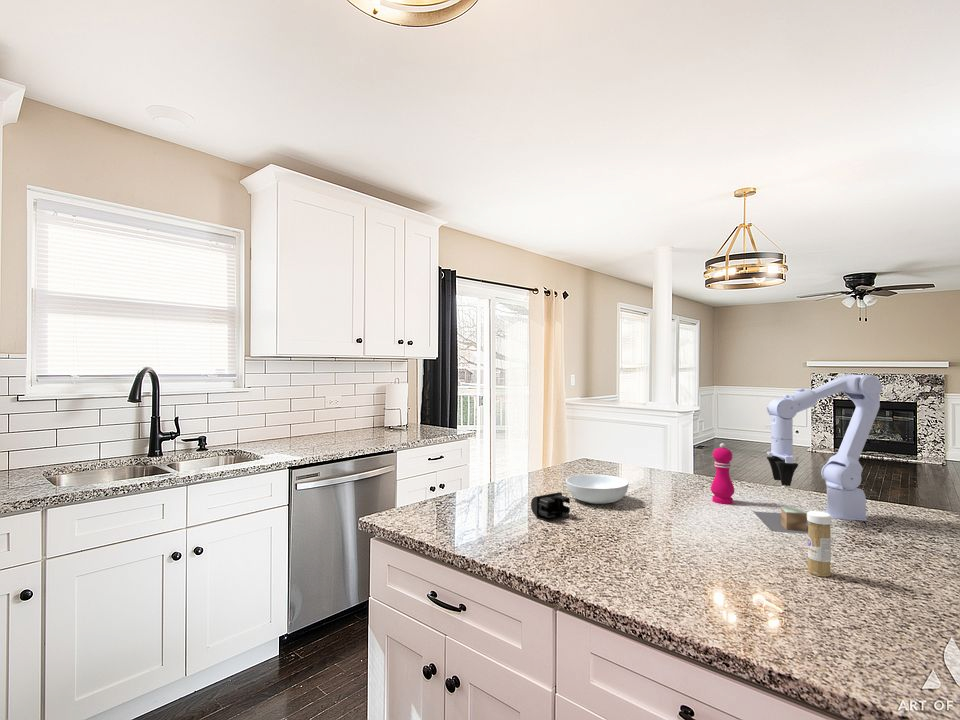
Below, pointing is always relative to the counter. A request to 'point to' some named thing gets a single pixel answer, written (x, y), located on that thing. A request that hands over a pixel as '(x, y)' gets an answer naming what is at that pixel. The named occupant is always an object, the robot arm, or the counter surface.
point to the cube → (793, 519)
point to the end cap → (550, 507)
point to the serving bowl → (597, 488)
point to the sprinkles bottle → (819, 543)
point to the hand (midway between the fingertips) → (781, 482)
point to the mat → (776, 522)
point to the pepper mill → (722, 476)
